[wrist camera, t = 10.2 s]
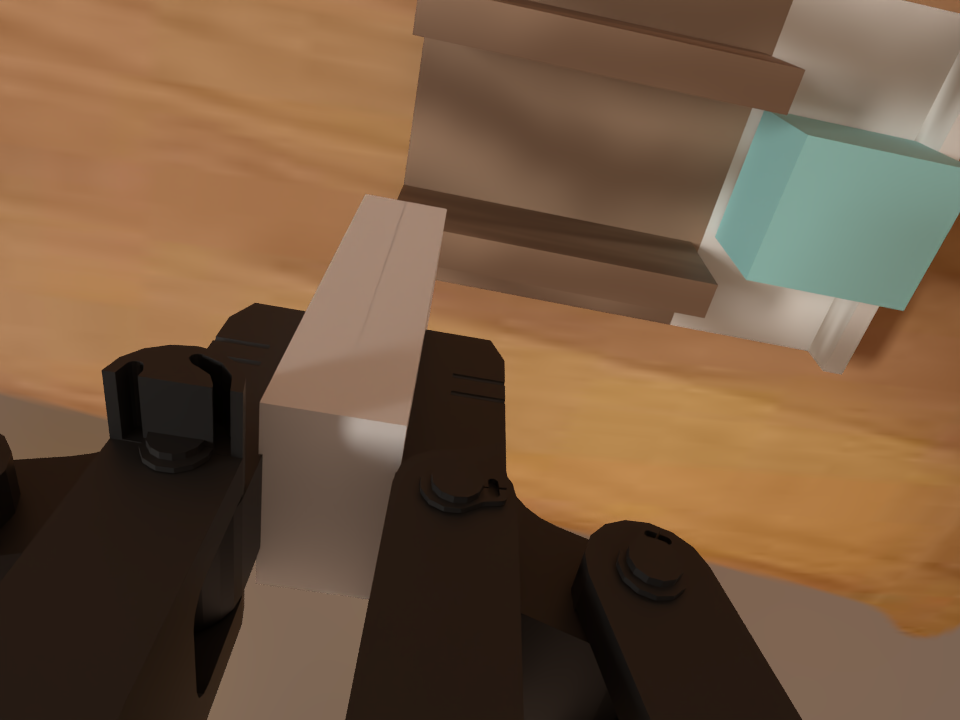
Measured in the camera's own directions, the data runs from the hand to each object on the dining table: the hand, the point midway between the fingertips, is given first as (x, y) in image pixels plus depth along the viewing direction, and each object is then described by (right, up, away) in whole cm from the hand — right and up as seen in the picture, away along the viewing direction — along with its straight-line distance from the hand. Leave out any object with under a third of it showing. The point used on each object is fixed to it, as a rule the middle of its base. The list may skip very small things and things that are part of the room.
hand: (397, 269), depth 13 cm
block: (+17, +6, +19) cm, 26 cm away
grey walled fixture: (+9, +8, +19) cm, 23 cm away
